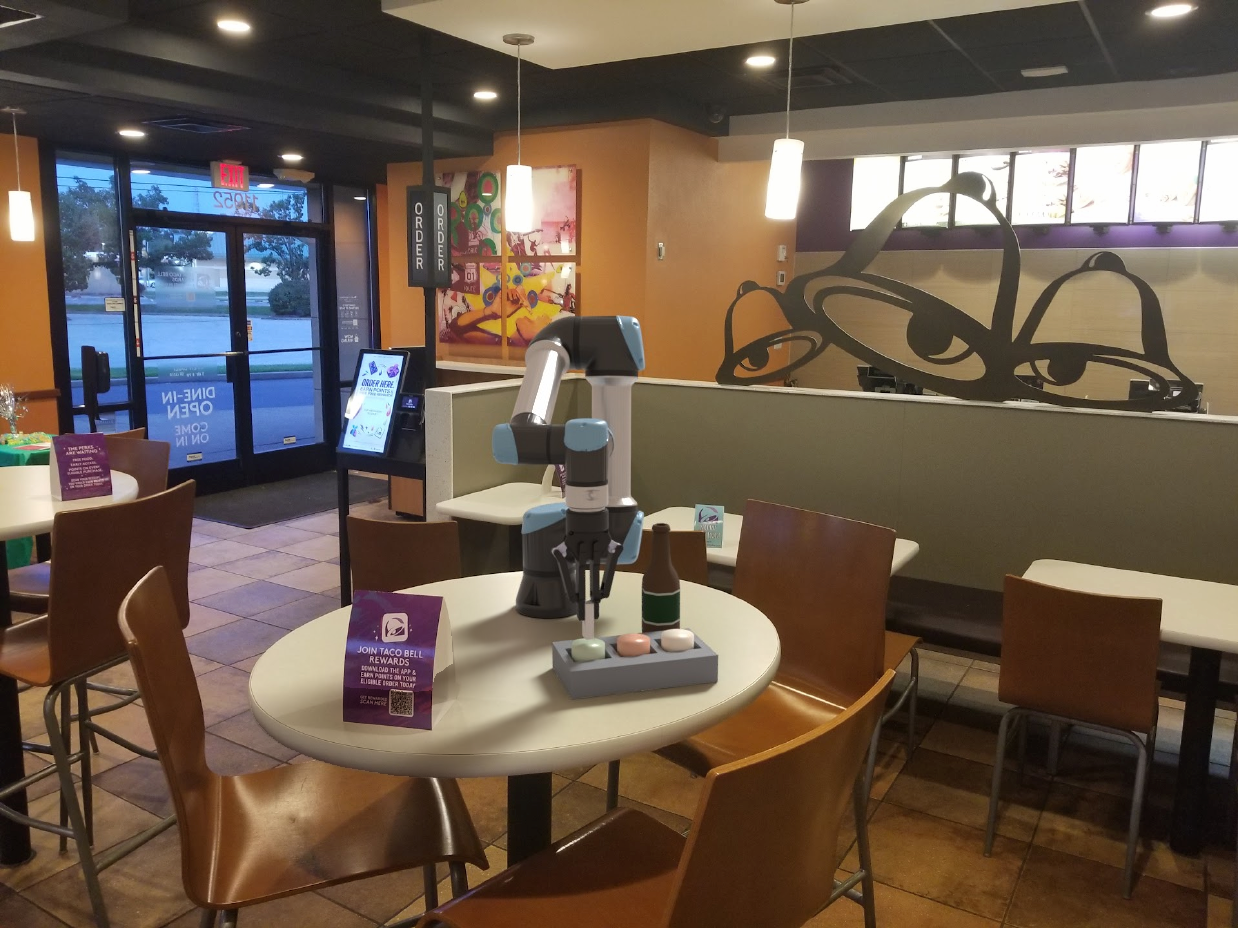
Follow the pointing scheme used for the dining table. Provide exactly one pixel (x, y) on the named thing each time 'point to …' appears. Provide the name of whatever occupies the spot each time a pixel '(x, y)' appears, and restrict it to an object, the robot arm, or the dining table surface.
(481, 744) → the dining table surface
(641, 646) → the button terracotta
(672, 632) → the button cream
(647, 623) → the beer bottle
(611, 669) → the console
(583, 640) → the button sage
